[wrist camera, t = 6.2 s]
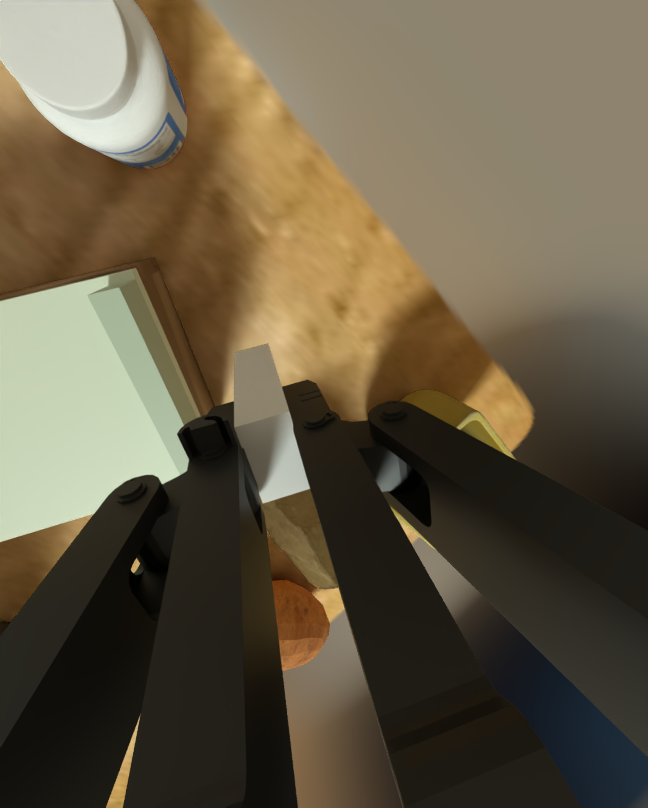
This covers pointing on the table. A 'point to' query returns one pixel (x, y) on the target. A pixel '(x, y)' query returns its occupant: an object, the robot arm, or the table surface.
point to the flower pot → (454, 424)
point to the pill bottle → (96, 76)
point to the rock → (300, 536)
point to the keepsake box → (165, 315)
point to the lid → (84, 400)
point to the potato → (298, 623)
